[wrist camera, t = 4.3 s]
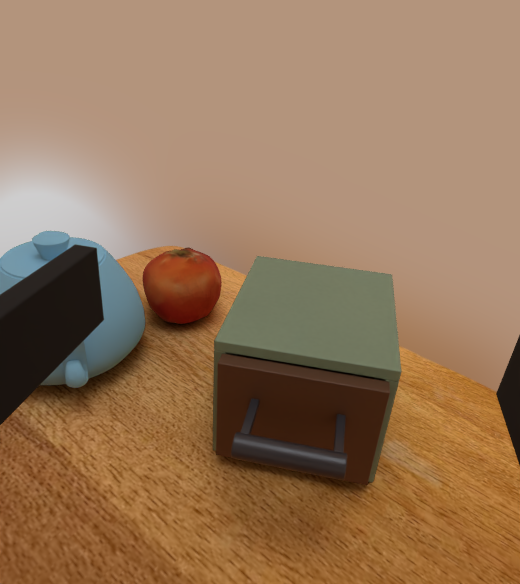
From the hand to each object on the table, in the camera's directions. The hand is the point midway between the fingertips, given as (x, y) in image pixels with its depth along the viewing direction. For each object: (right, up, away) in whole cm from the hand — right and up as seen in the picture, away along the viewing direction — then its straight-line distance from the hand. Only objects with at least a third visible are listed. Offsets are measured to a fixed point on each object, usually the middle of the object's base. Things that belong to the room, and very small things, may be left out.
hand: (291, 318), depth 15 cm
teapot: (-23, -6, +33) cm, 40 cm away
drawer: (+2, -11, +25) cm, 27 cm away
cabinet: (+3, -10, +29) cm, 31 cm away
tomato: (-10, -2, +42) cm, 43 cm away
